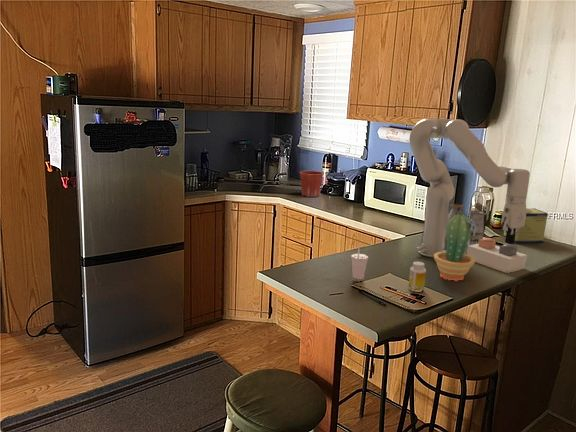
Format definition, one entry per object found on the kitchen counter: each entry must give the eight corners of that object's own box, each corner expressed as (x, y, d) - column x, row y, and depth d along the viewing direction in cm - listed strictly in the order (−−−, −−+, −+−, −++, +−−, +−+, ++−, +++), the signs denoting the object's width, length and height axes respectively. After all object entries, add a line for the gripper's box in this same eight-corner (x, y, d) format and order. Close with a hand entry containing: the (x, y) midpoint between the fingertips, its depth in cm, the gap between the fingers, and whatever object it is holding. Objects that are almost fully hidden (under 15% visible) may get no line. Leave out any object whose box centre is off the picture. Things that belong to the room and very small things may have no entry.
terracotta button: (487, 254, 208) (489, 241, 207) (477, 251, 212) (479, 238, 211) (494, 253, 211) (496, 239, 209) (484, 250, 215) (486, 236, 213)
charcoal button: (508, 261, 200) (510, 247, 199) (498, 258, 204) (500, 244, 203) (515, 260, 203) (517, 246, 201) (505, 256, 207) (507, 243, 205)
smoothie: (355, 276, 188) (357, 241, 184) (369, 280, 184) (372, 245, 181) (346, 280, 183) (348, 244, 180) (360, 285, 179) (363, 248, 176)
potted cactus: (456, 287, 180) (465, 221, 174) (423, 274, 193) (429, 212, 186) (480, 279, 189) (489, 216, 183) (447, 267, 201) (454, 208, 195)
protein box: (543, 243, 241) (548, 212, 238) (514, 243, 239) (519, 213, 235) (530, 237, 251) (534, 208, 248) (502, 237, 249) (506, 208, 245)
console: (507, 273, 197) (509, 259, 196) (466, 258, 213) (468, 245, 212) (524, 268, 203) (527, 254, 202) (483, 254, 220) (485, 242, 218)
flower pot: (309, 192, 348) (310, 169, 344) (327, 196, 337) (328, 173, 333) (293, 195, 336) (294, 171, 332) (311, 199, 325) (312, 175, 321)
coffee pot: (443, 224, 270) (446, 198, 267) (465, 226, 267) (468, 200, 264) (443, 234, 251) (447, 206, 247) (467, 237, 248) (471, 208, 244)
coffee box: (482, 248, 229) (487, 215, 225) (468, 247, 230) (472, 214, 227) (479, 243, 238) (483, 210, 234) (465, 241, 239) (469, 209, 235)
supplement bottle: (426, 290, 177) (429, 263, 174) (419, 294, 173) (422, 267, 170) (412, 285, 180) (415, 259, 178) (405, 289, 176) (407, 263, 174)
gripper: (513, 203, 190) (506, 248, 195) (535, 199, 198) (528, 243, 202) (496, 199, 196) (490, 243, 201) (518, 196, 204) (512, 238, 209)
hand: (509, 243), depth 202 cm, fingers closed
